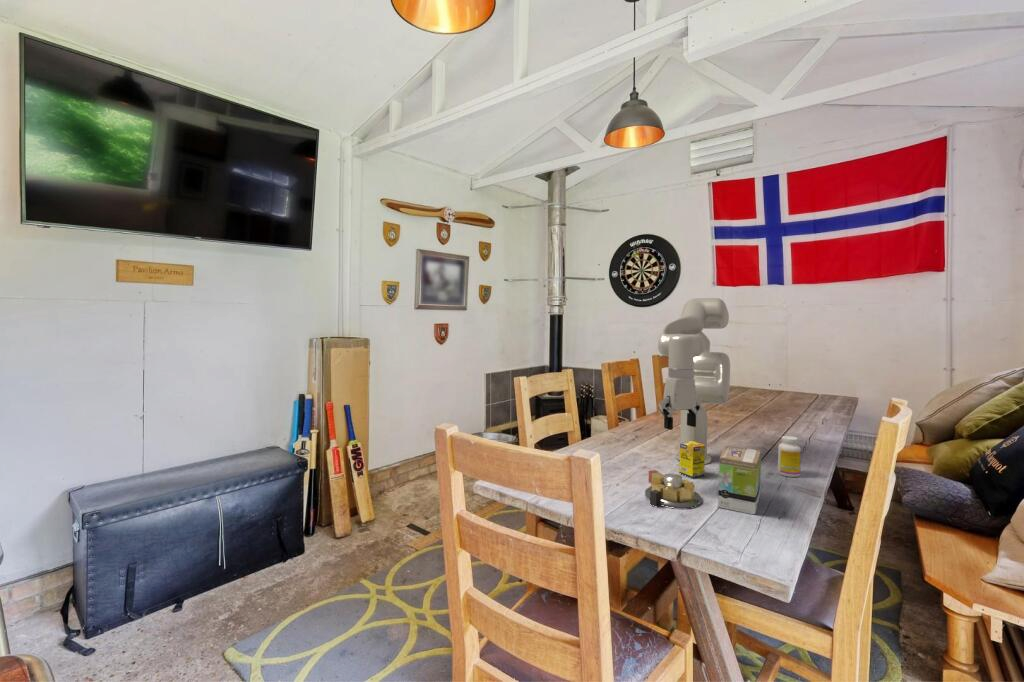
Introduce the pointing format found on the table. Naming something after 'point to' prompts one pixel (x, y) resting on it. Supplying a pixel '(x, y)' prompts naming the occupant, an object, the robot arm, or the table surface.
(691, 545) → the table surface
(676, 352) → the robot arm
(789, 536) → the table surface
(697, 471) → the supplement box
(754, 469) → the tea box
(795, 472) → the supplement bottle
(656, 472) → the tan block cluster
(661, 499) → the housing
